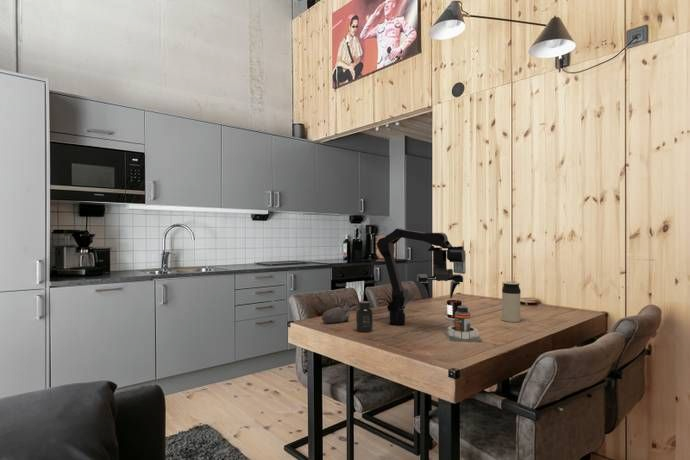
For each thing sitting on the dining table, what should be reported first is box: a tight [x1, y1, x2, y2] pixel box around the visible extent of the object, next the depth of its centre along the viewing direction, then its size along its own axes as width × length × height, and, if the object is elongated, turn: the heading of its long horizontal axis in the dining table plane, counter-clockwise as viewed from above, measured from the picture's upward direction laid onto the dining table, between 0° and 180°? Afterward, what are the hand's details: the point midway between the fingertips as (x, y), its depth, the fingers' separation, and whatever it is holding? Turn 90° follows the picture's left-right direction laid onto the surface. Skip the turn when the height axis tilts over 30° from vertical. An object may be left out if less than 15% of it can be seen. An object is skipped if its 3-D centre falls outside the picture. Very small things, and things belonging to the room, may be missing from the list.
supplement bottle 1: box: [355, 300, 374, 333], centre depth 173 cm, size 7×7×12 cm
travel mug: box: [501, 280, 522, 323], centre depth 193 cm, size 8×8×18 cm
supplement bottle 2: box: [454, 305, 471, 331], centre depth 163 cm, size 6×6×11 cm
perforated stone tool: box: [321, 305, 351, 324], centre depth 187 cm, size 15×5×7 cm, turn 121°
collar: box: [444, 325, 483, 343], centre depth 162 cm, size 12×12×3 cm
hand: (439, 298), depth 176 cm, fingers open, 9 cm apart
